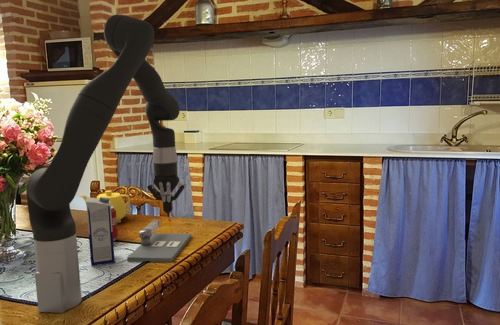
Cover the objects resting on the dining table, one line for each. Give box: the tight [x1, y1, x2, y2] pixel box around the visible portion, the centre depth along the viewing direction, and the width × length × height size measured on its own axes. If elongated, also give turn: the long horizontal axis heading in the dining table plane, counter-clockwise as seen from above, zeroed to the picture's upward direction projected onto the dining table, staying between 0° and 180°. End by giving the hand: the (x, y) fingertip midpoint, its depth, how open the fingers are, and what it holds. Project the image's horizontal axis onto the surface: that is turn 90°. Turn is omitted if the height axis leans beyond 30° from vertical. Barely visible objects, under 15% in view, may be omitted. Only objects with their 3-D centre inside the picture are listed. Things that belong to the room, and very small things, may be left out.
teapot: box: [78, 189, 132, 224], centre depth 173 cm, size 14×20×13 cm
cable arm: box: [138, 219, 162, 239], centre depth 145 cm, size 4×15×2 cm, turn 175°
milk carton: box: [85, 196, 116, 267], centre depth 128 cm, size 7×7×20 cm
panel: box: [126, 232, 193, 263], centre depth 139 cm, size 24×14×4 cm, turn 173°
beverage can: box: [111, 206, 119, 242], centre depth 148 cm, size 6×6×12 cm
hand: (168, 212), depth 138 cm, fingers closed
